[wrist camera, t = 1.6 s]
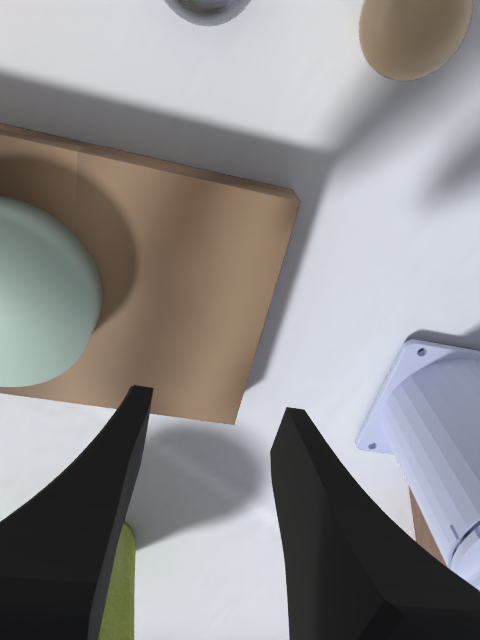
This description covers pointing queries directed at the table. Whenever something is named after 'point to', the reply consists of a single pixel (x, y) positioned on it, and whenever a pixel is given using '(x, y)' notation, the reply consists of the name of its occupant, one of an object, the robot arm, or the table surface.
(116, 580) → the plant pot
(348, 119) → the table surface
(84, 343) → the green smooth pebble
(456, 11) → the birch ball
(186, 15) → the steel ball
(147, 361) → the brown flat rectangular block
